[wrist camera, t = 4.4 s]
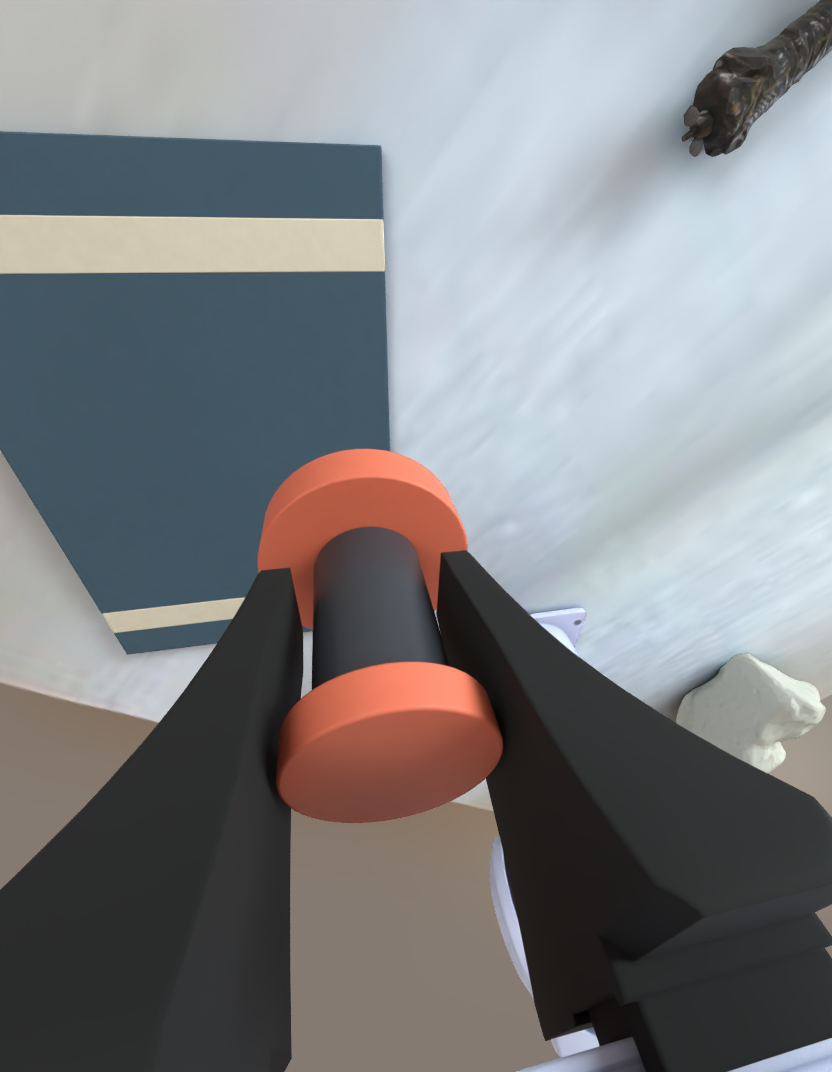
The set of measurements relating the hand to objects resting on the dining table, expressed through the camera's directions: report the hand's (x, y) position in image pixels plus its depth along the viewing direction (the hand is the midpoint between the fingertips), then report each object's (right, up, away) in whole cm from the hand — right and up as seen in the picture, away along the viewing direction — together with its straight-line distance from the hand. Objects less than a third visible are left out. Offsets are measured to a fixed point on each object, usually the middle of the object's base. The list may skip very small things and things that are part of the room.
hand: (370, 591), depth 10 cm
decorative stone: (+28, -12, +27) cm, 41 cm away
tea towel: (-7, +4, +7) cm, 11 cm away
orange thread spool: (0, +1, +2) cm, 2 cm away
